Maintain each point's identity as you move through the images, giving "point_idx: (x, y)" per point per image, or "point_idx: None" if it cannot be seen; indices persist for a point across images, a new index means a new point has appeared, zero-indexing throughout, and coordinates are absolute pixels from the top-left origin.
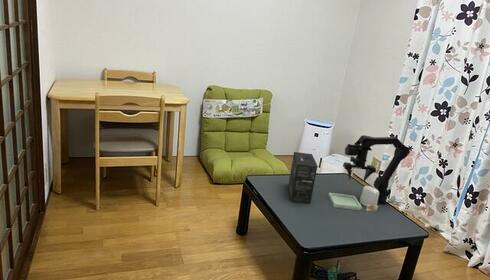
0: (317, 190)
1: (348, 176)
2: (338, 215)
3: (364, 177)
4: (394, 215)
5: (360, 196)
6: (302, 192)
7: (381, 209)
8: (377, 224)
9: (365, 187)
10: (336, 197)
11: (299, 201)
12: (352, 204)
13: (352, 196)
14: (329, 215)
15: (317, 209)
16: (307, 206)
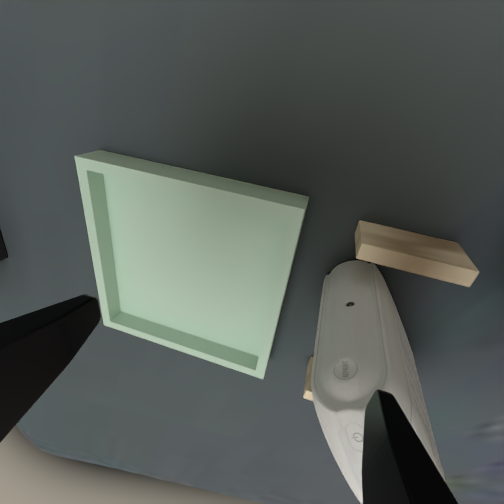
0: (13, 11)
1: (24, 327)
2: (131, 369)
3: (389, 493)
4: (488, 438)
5: (359, 242)
6: None
7: (457, 368)
8: (284, 455)
9: (323, 429)
10: (145, 200)
11: None
12: (233, 309)
13: (282, 213)
14: (94, 362)
15: None
16: (3, 285)
